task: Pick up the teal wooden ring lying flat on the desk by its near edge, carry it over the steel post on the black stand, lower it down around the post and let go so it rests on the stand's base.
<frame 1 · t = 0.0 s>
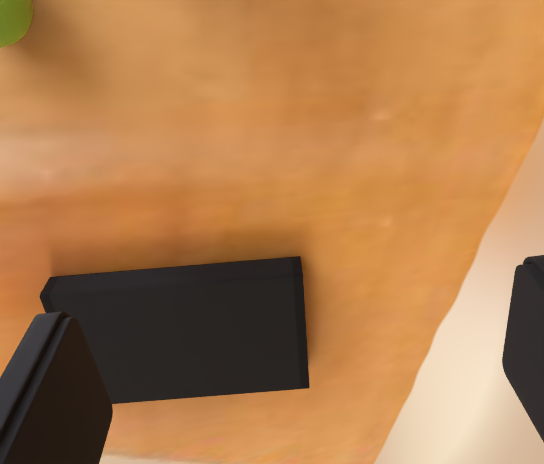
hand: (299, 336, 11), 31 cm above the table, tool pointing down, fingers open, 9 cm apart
external hard drive: (188, 323, 51), on the table
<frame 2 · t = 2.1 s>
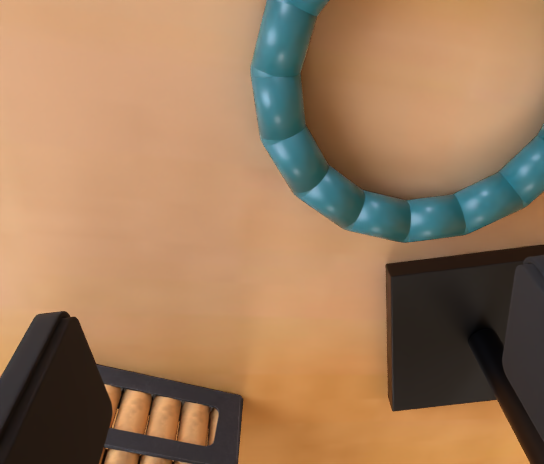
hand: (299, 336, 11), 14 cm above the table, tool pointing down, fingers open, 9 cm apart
ring: (436, 80, 21), point 1 cm above the table
ammunition clip: (154, 385, 31), on the table
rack: (474, 325, 29), on the table
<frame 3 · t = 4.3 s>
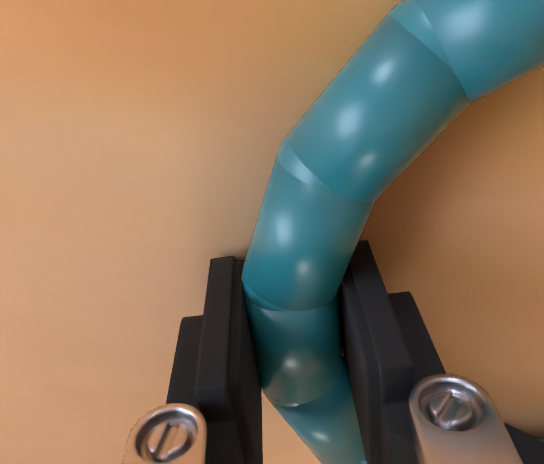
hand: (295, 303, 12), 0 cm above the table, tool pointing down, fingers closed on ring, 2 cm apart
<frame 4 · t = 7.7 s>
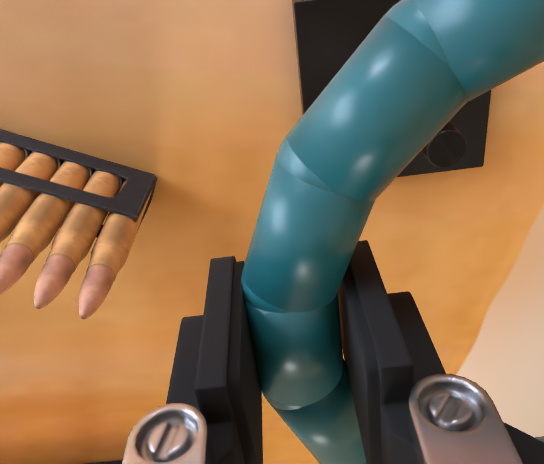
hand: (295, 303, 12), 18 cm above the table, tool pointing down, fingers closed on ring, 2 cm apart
ammunition clip: (64, 161, 30), on the table
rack: (391, 85, 28), on the table
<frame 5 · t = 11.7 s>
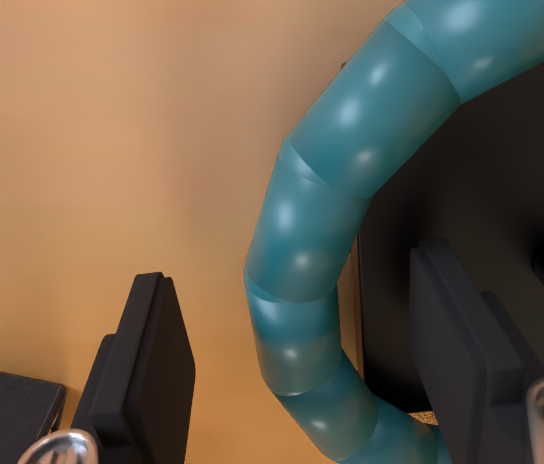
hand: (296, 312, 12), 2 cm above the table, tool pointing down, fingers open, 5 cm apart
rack: (541, 232, 13), on the table
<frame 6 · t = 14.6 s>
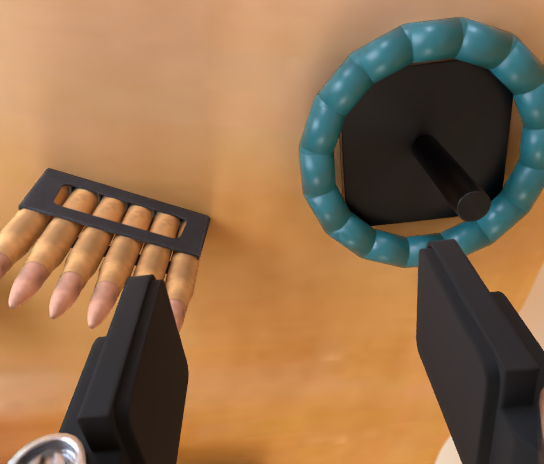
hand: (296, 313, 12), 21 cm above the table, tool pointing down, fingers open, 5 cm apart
ring: (427, 156, 30), point 2 cm above the table, touching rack
ammunition clip: (129, 203, 34), on the table
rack: (419, 141, 32), on the table
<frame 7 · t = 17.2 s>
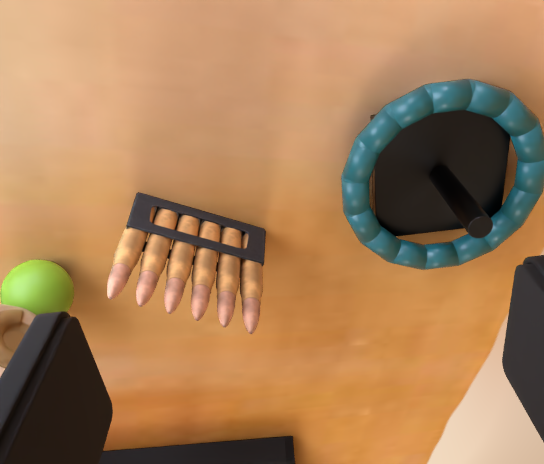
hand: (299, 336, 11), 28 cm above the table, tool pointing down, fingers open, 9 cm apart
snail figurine: (45, 269, 44), on the table
ring: (442, 182, 38), point 2 cm above the table, touching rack
ammunition clip: (200, 219, 42), on the table
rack: (435, 169, 40), on the table
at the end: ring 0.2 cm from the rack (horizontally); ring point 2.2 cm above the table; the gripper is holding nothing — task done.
